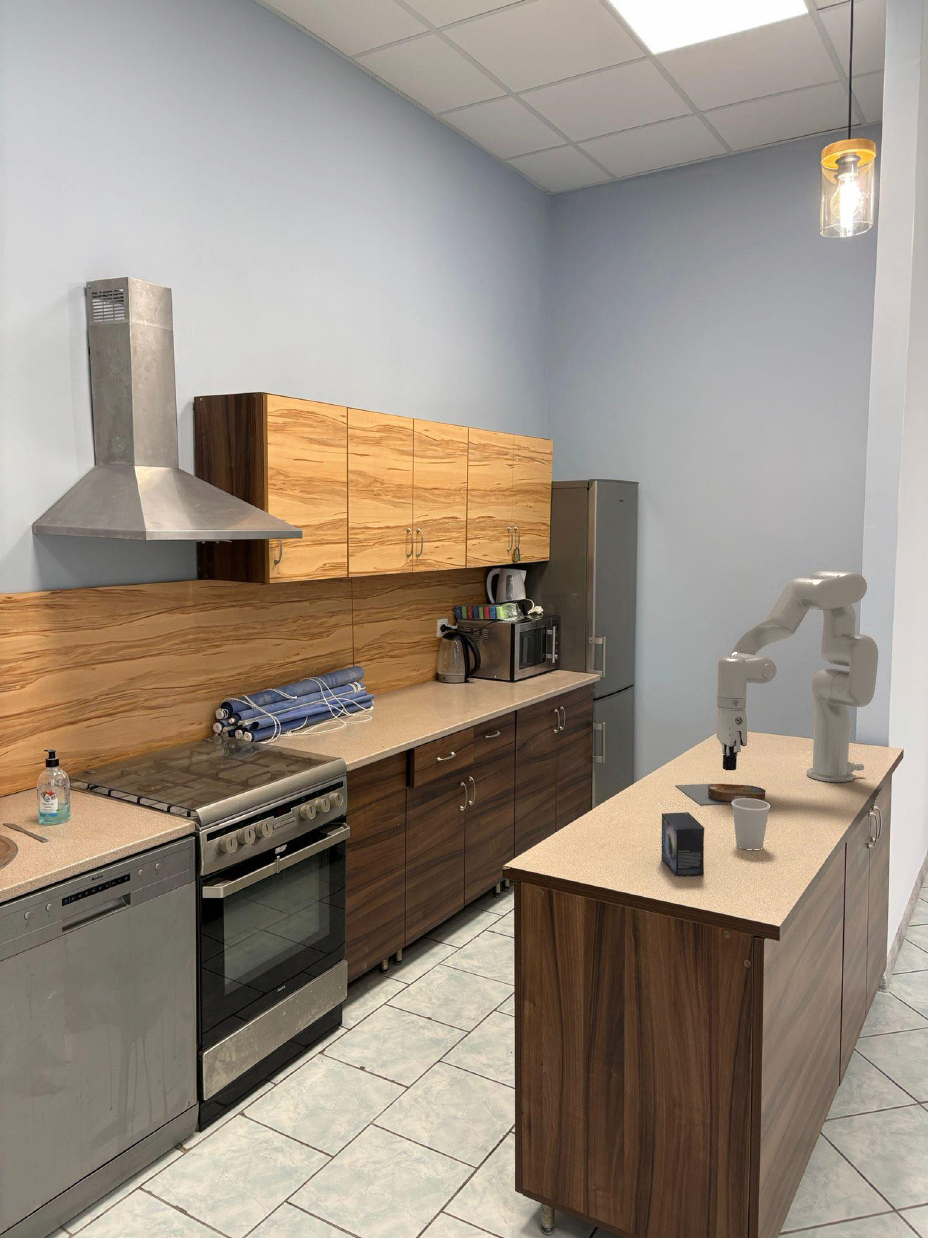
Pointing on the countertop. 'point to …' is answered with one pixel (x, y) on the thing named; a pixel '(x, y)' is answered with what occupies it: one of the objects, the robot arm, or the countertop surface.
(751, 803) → the dixie cup
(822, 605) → the robot arm
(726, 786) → the tin
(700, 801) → the mat
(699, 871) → the small box
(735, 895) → the countertop surface
